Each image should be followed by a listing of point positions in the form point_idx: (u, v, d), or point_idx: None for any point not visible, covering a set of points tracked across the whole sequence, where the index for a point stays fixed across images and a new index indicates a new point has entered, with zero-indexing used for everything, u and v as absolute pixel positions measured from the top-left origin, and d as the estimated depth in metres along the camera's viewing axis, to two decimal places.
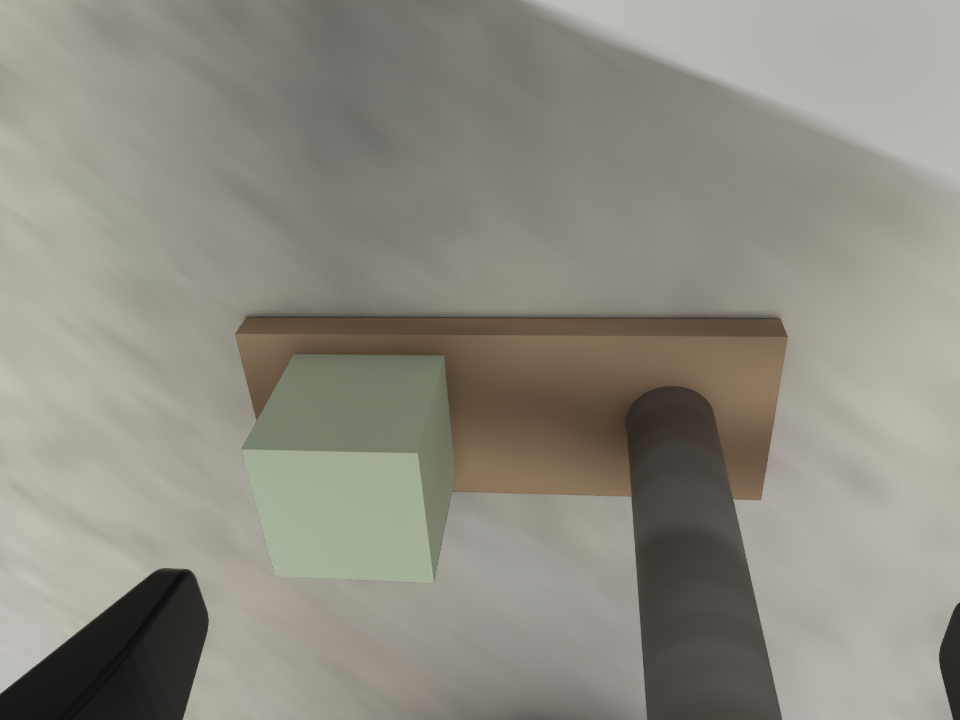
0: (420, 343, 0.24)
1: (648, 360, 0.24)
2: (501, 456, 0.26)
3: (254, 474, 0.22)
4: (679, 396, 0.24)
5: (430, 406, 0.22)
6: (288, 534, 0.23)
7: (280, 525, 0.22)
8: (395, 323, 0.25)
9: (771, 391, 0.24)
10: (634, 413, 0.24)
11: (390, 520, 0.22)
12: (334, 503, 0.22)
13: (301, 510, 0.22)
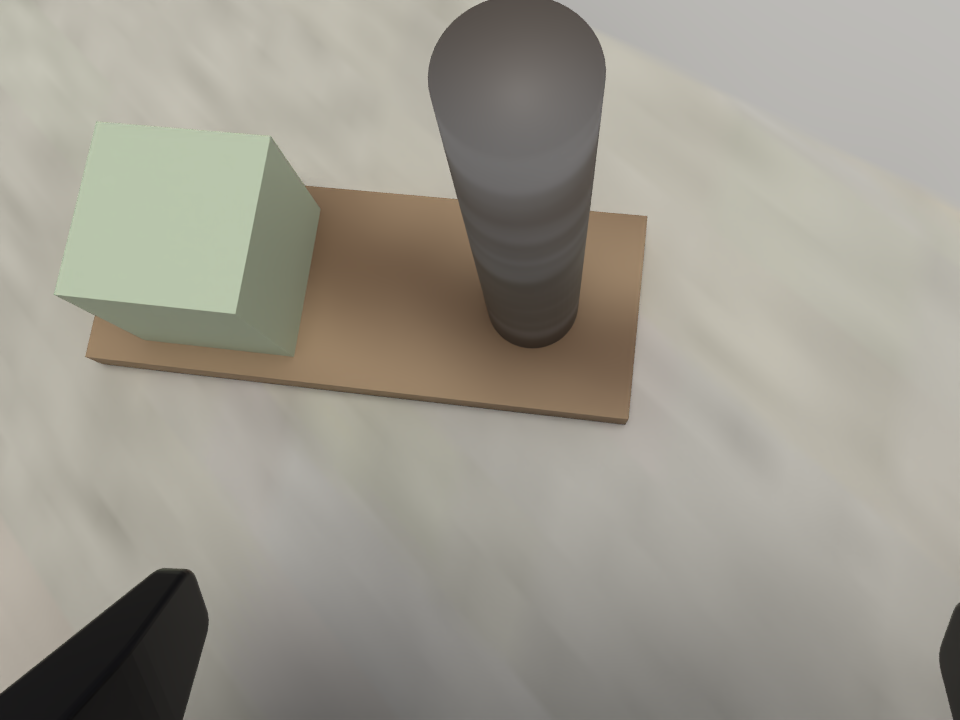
0: None
1: None
2: (350, 335, 0.24)
3: (95, 152, 0.21)
4: None
5: (294, 173, 0.22)
6: (96, 232, 0.20)
7: (93, 219, 0.20)
8: None
9: (634, 275, 0.24)
10: None
11: (215, 218, 0.20)
12: (163, 193, 0.20)
13: (124, 200, 0.20)
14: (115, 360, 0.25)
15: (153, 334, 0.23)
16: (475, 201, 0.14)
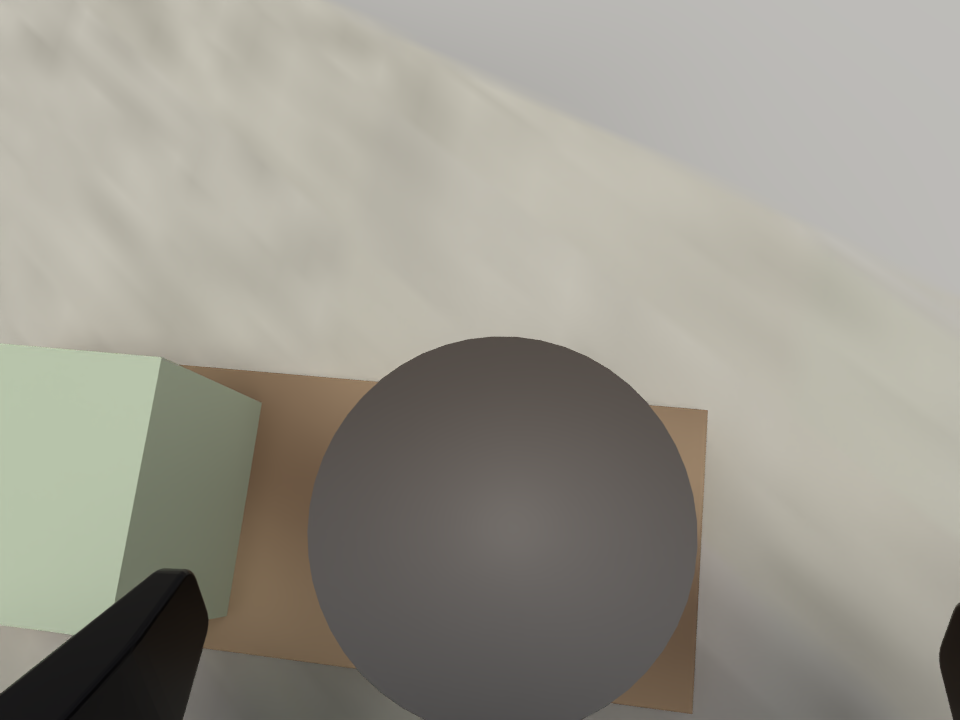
0: (236, 382, 0.19)
1: None
2: (302, 584, 0.18)
3: None
4: None
5: (212, 382, 0.16)
6: None
7: None
8: None
9: None
10: None
11: (80, 487, 0.14)
12: (9, 446, 0.14)
13: None
14: None
15: None
16: None
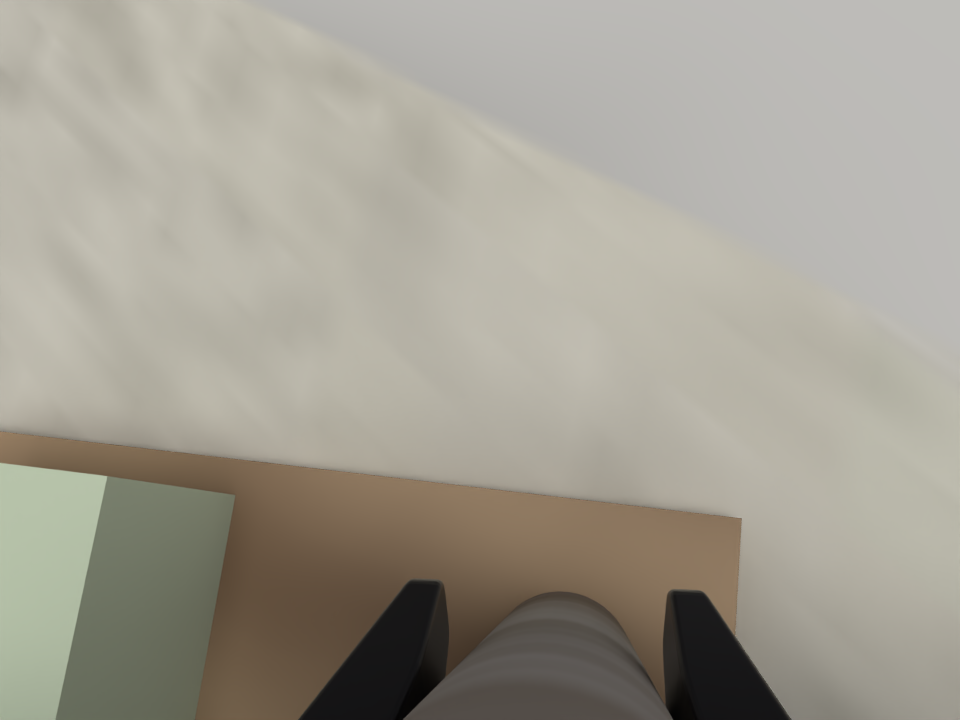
0: (207, 470, 0.17)
1: (532, 538, 0.16)
2: (276, 708, 0.15)
3: None
4: (576, 595, 0.15)
5: (173, 488, 0.14)
6: None
7: None
8: None
9: None
10: None
11: (8, 631, 0.12)
12: None
13: None
14: None
15: None
16: None
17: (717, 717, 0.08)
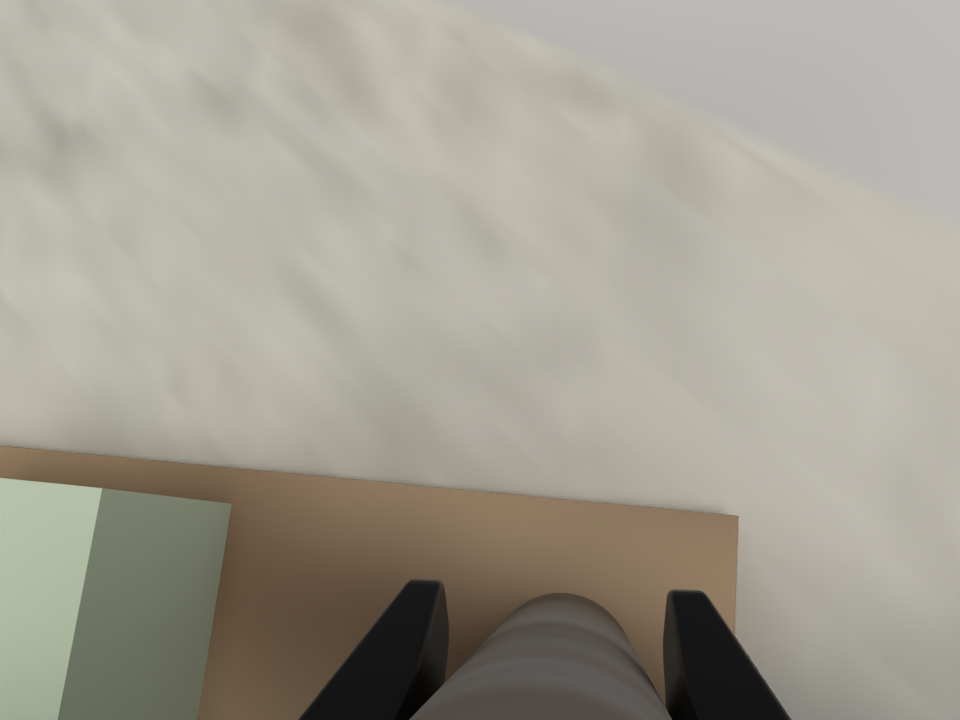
0: (203, 479, 0.17)
1: (530, 540, 0.16)
2: (277, 716, 0.15)
3: None
4: (575, 596, 0.15)
5: (169, 498, 0.14)
6: None
7: None
8: None
9: (723, 617, 0.15)
10: None
11: (6, 647, 0.12)
12: None
13: None
14: None
15: None
16: None
17: (717, 717, 0.08)
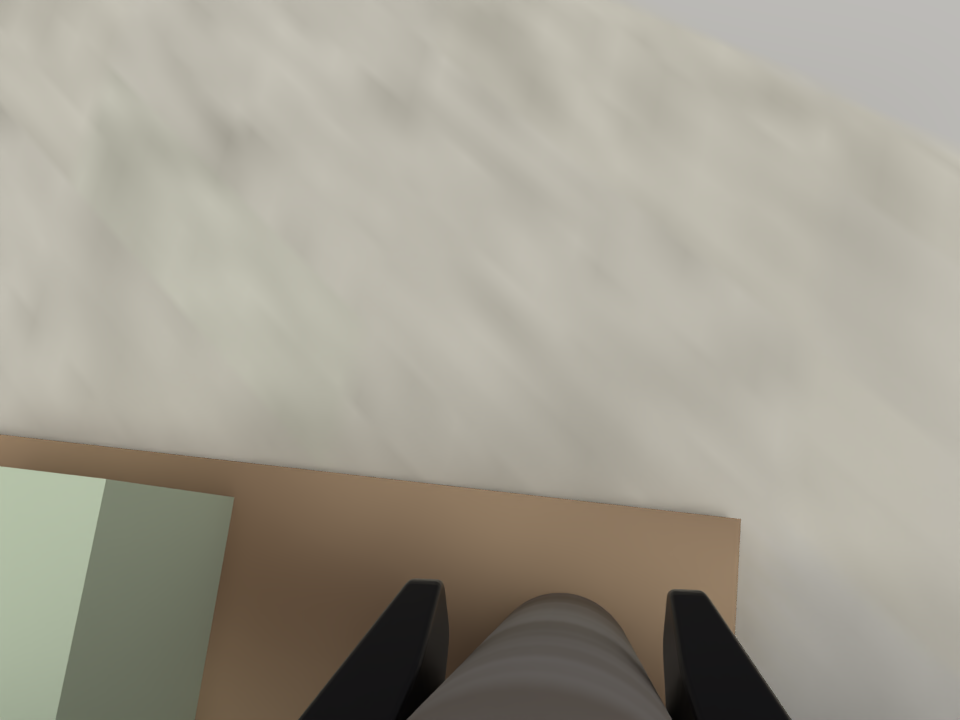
0: (206, 472, 0.17)
1: (532, 539, 0.16)
2: (276, 710, 0.15)
3: None
4: (575, 596, 0.15)
5: (172, 491, 0.14)
6: None
7: None
8: None
9: None
10: None
11: (8, 635, 0.12)
12: None
13: None
14: None
15: None
16: None
17: (717, 717, 0.08)
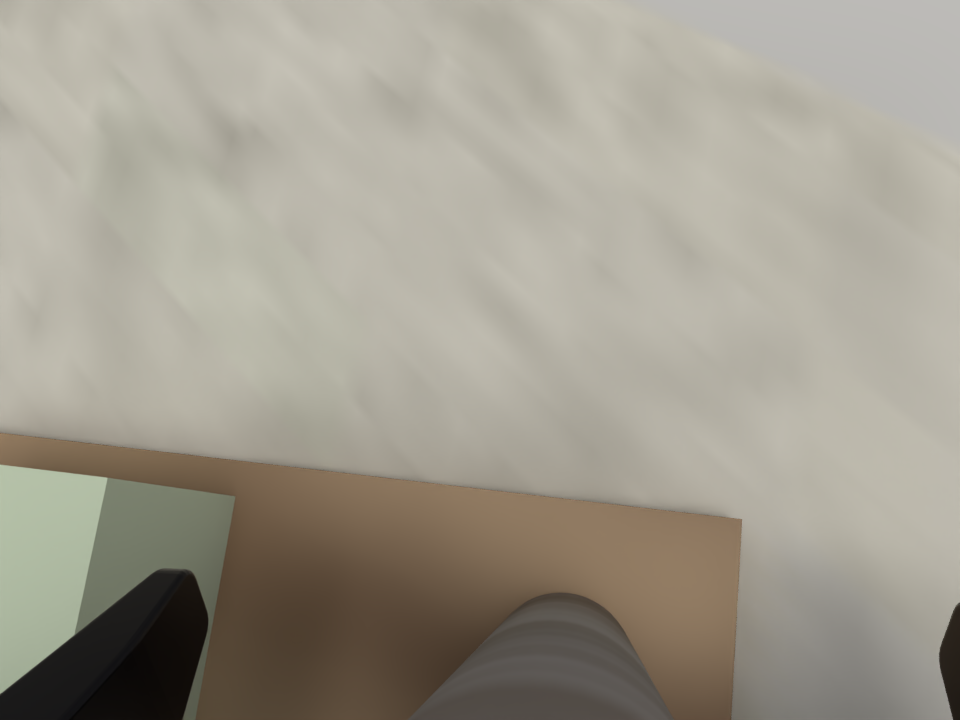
0: (207, 471, 0.17)
1: (533, 539, 0.16)
2: (277, 709, 0.15)
3: None
4: (576, 596, 0.15)
5: (174, 490, 0.14)
6: None
7: None
8: None
9: (725, 621, 0.15)
10: None
11: (9, 634, 0.12)
12: None
13: None
14: None
15: None
16: None
17: None
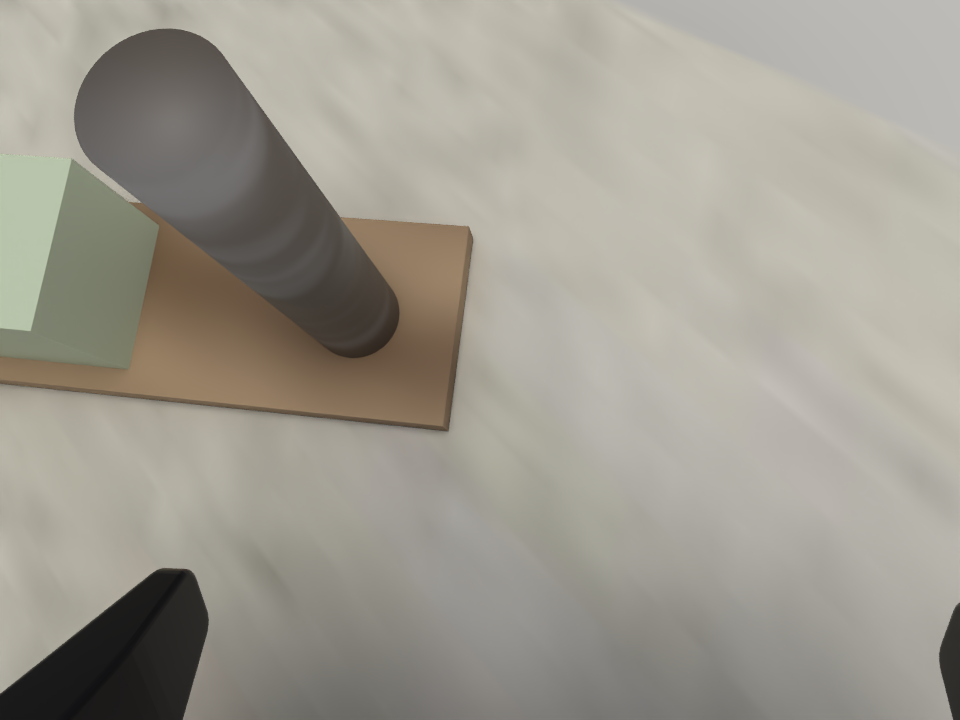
0: (141, 211, 0.26)
1: None
2: (182, 347, 0.25)
3: None
4: None
5: (114, 193, 0.23)
6: None
7: None
8: None
9: (454, 284, 0.24)
10: None
11: (16, 239, 0.21)
12: None
13: None
14: None
15: None
16: (169, 223, 0.15)
17: None
